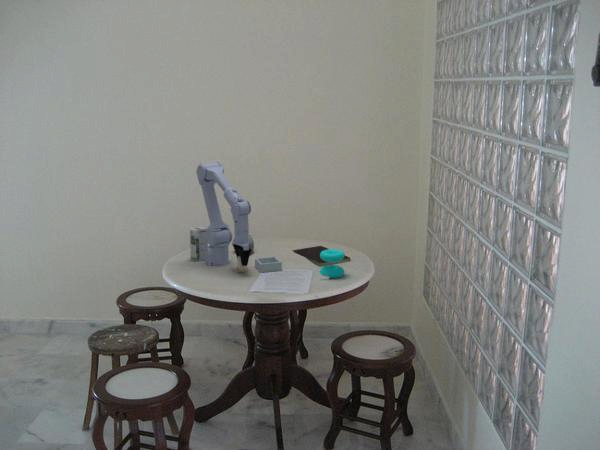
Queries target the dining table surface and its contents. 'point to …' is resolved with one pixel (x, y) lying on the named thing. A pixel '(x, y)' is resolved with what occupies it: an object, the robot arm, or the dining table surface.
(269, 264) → the pale grey open tray
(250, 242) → the ceramic mug
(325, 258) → the donuts
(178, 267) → the dining table surface
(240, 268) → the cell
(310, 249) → the hardcover book
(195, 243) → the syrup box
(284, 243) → the dining table surface
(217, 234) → the robot arm
